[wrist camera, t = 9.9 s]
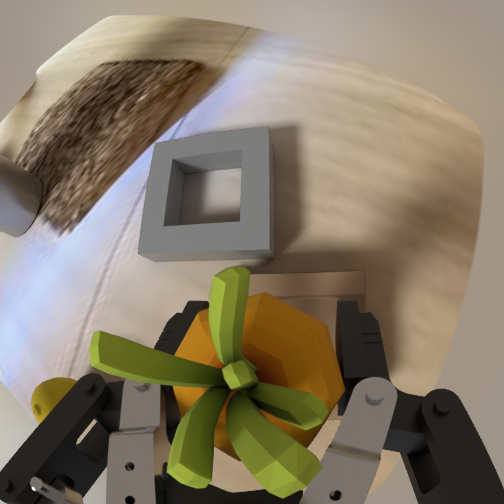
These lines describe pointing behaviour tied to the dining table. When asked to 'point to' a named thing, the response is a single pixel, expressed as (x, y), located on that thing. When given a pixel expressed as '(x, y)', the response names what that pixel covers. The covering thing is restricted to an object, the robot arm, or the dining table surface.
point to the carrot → (240, 385)
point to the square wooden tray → (314, 295)
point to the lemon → (49, 396)
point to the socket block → (210, 234)
